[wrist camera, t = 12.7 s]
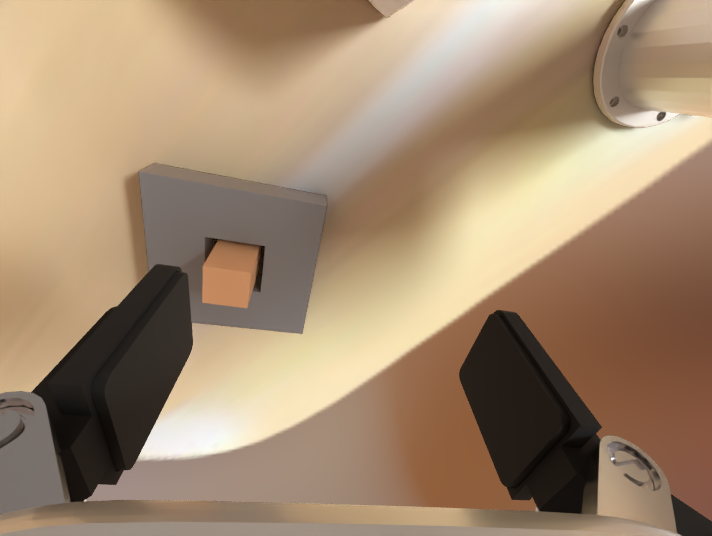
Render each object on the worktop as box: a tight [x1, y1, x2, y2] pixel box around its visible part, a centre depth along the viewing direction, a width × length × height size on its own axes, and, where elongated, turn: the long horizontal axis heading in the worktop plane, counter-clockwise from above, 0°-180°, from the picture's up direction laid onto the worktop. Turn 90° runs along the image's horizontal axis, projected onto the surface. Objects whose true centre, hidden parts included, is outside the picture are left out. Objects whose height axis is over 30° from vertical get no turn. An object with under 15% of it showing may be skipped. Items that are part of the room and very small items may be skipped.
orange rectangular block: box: [202, 239, 262, 308], centre depth 32 cm, size 4×4×7 cm
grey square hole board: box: [139, 163, 327, 334], centre depth 34 cm, size 16×16×3 cm
